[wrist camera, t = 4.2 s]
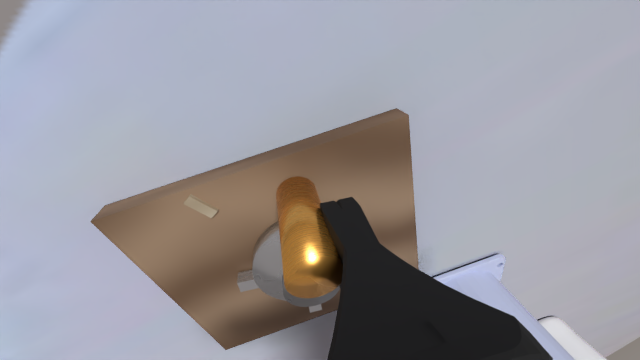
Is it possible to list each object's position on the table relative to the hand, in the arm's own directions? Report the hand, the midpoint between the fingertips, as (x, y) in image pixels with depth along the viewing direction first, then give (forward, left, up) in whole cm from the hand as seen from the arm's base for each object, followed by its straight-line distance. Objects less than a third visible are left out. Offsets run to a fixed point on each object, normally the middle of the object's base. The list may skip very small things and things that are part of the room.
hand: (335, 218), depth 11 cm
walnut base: (-4, +3, -4) cm, 6 cm away
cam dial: (-5, +2, -2) cm, 5 cm away
